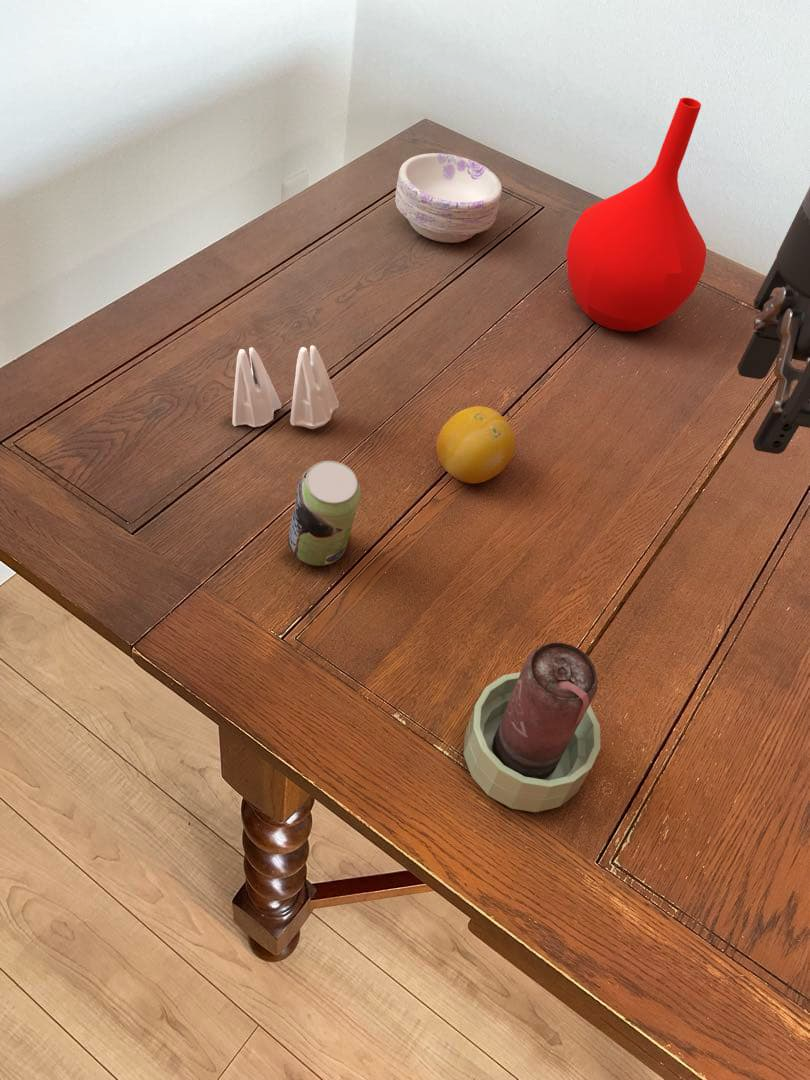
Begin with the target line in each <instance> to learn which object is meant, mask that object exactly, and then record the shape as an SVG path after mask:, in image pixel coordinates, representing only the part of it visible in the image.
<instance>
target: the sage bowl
mask: <svg viewBox="0 0 810 1080" xmlns="http://www.w3.org/2000/svg"><path fill="white" fill-rule="evenodd" d="M520 673H521V671H518V672H513V673H508V674H503V675H501V676H500V677H499V678H497V679H495V680H494V681H492V682H491V683H490V684H488V685H487V686H485V687H484V689H483V690H482V692H481V694H480V696H479V697H478V699H477V701H476V702H475V704H474V707H473V710H472V712H471V715H470V718H469V721H468V723H467V725H466V729H465V731H464V738H463V757H464V760H465V763H466V765H467V768H468V770H469V773H470V776H471V778H472V779H473V780H474V782H475V783H476V784H477V785H478V786H479V787H480V788H481V789H482V791H483V792H484V793H485V795H486V796H488V797H490V798H492V799H493V800H495V801H497V802H499V803H501V804H503V805H504V806H506V807H507V808H509V809H512V810H518V811H524V812H531V813H540V812H543V811H548V810H552V809H556V808H560V807H562V806H563V804H565V803H566V802H567V801H569V800H570V799H571V798H573V797H574V796H575V795H576V794H577V793H578V792H579V791H580V788H581V787H582V785H583V784H584V782H585V780H586V778H587V777H588V775H589V774H590V771H591V770H592V768H593V766H594V764H595V762H596V759H597V758H598V756H599V753H600V751H601V725H600V723H599V721H598V719H597V717H596V714H595V712H594V710H593V708H592V705H591V704H590V705H589V707H588V709H587V711H586V712H585V714H584V716H583V718H582V720H581V722H580V724H579V726H578V727H577V729H576V731H575V733H574V735H573V737H572V739H571V740H570V742H569V744H568V746H567V748H566V750H565V752H564V754H563V755H562V757H561V759H560V761H559V763H558V765H557V767H556V768H555V770H554V772H553V773H552V774H551V775H550V776H548V777H547V778H545V779H543V780H542V779H536V778H530V777H525V776H523V775H521V774H519V773H517V772H515V771H514V770H512V769H510V768H508V767H506V766H504V765H503V764H502V763H501V761H500V760H499V759H498V758H497V757H496V756H495V755H494V754H493V750H492V745H493V738H494V736H495V734H496V731H497V729H498V726H499V724H500V722H501V719H502V717H503V714H504V712H505V709H506V707H507V705H508V702H509V700H510V697H511V695H512V693H513V690H514V688H515V685H516V683H517V680H518V678H519V676H520Z"/></svg>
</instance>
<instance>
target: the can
mask: <svg viewBox="0 0 810 1080" xmlns="http://www.w3.org/2000/svg"><path fill="white" fill-rule="evenodd" d="M520 672H521V673H520V676H519V678H518V680H517V683H516V685H515V688H514V690H513V693H512V695H511V697H510V700H509V702H508V705H507V707H506V709H505V712H504V714H503V717H502V719H501V722H500V724H499V726H498V729H497V731H496V734H495V736H494V738H493V745H492V750H493V754H494V755H495V756H496V757H497V758H498V759H499V760H500V761H501V763H502V764H503V765H504V766H506V767H508V768H510V769H512V770H514V771H515V772H517V773H519V774H521V775H523V776H525V777H530V778H536V779H542V780H543V779H545V778H547V777H548V776H550V775H551V774H552V773H553V772H554V770H555V768H556V767H557V765H558V763H559V761H560V759H561V757H562V755H563V754H564V752H565V750H566V748H567V746H568V744H569V742H570V740H571V739H572V737H573V735H574V733H575V731H576V729H577V727H578V726H579V724H580V722H581V720H582V718H583V716H584V714H585V712H586V711H587V709H588V707H589V705H590V706H591V703H592V701H593V699H594V697H595V696H596V693H597V691H598V683H599V679H598V676H597V675H598V674H597V670H596V666H595V664H594V663H593V661H592V659H591V658H590V656H588V655H587V654H586V653H585V651H583V650H582V649H580V648H578V647H577V646H574V645H573V644H570V643H565V642H561V641H560V642H559V641H558V642H549V643H546V644H544V645H541V646H540V647H537V648H536V649H535V650H533V651H532V652H531V653H529V654H528V656H527V658H526V660H525V661H524V664H523V666H522V668H521V671H520Z"/></svg>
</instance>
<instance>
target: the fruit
mask: <svg viewBox="0 0 810 1080" xmlns="http://www.w3.org/2000/svg"><path fill="white" fill-rule="evenodd" d="M435 447H436V449H435V450H436V455H437V458H438V461H439V463H440V465H441V466H442V468H443V469H444V470H445V471H446V473H448V474H449V475H450V476H452V477H453V478H455V479H456V480H457V481H459V482H460V481H461V482H462V483H465V484H480V483H484V482H486V481H488V480H491V479H492V478H494V477H497V475H498V474H500V473H501V472H502V471H504V469H505V468H506V467H507V466H508V464H509V463H510V461H511V460H512V458H513V455H514V453H515V449H516V434H515V431H514V429H513V427H512V425H511V424H510V423H509V421H508V420H507V419H506V418H505V417H504V416H502V414H500V413H499V412H498V411H496V410H495V409H493V408H491V407H487V406H482V405H477V406H476V405H475V406H470V407H467V408H465V409H461V410H460V411H458V412H456V413H455V414H453V415H452V416H451V417H450V418H449V419H448V420H447V421H446V422H445V423H444V425H443V426H442V428H441V429H440V431H439V433H438V436H437V440H436V446H435Z"/></svg>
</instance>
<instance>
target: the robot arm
mask: <svg viewBox="0 0 810 1080" xmlns="http://www.w3.org/2000/svg"><path fill="white" fill-rule="evenodd" d="M777 288H778V290H777V291H776V294H775V295H772V293H773V291H774V290H776V289H777ZM753 309H754V310H756V311H759V313H758V314H757V315H756V317H755V319H754V321H753V330H754V332H753V334H752V336H751V338H750V340H749V342H748V344H747V345H746V348H745V350H744V352H743V354H742V356H741V358H740V360H739V362H738V364H737V372H738V374H739V376H740V377H744V378H749V379H755V380H763V379H765V378H766V377H767V376H768V374H769V372H770V370H771V368H772V366H773V364H774V363H775V366H774V370H773V373H774V376H775V378H777V379H778V384H777V388H776V392H775V396H774V401H773V404H772V405H770V408H769V410H768V411H767V413H766V415H765V417H764V419H763V421H762V423H761V424H760V426H759V428H758V429H757V432H756V433H755V435H754V437H753V439H752V443H753V448H754V450H755V451H757V452H762V453H769V454H775V455H779V454H782V453H784V452H785V451H786V449H787V447H788V445H789V444H790V442H791V441H792V439H793V437H794V435H795V434H796V432H797V430H798V429H799V427H801V428H802V427H803V428H808V429H810V186H809V187H808V189H807V191H806V194H805V196H804V197H803V199H802V202H801V204H800V205H799V208H798V210H797V212H796V214H795V216H794V218H793V219H792V222H791V224H790V226H789V228H788V231H787V232H786V235H785V236H784V238H783V241H782V243H781V245H780V247H779V249H778V251H777V253H776V257H775V259H774V261H773V263H772V265H771V267H770V269H769V271H768V273H767V274H766V277H765V278H764V280H763V282H762V284H761V286H760V288H759V290H758V292H757V294H756V296H755V297H754V300H753ZM792 360H794V361H798V362H799V361H800V362H805V364H806V366H805V367H804V369H800V368H796V367H794V366H793V365H792ZM775 361H776V362H775ZM795 381H796V382H797V383H796V385H795V386H794V389H793V390H792V387H793V383H794V382H795ZM791 391H792V392H791Z"/></svg>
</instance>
